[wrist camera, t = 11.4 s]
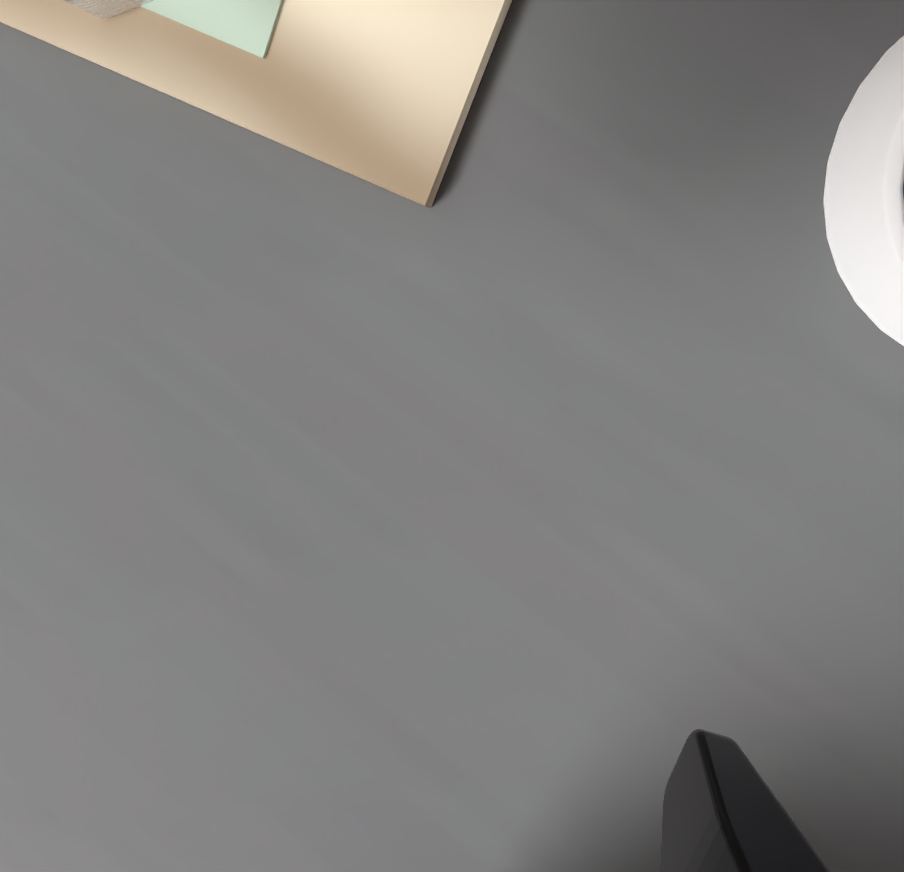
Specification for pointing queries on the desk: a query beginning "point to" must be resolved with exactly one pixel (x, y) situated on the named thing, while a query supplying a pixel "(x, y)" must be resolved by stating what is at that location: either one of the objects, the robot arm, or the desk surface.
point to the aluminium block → (107, 6)
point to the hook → (871, 195)
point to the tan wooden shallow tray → (303, 71)
